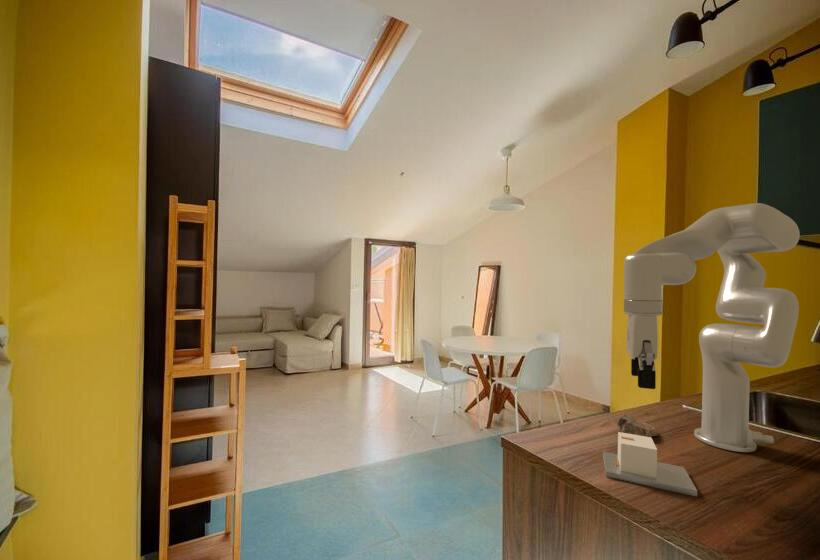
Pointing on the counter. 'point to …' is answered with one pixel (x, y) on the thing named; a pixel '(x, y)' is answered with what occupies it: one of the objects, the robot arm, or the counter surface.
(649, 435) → the rock
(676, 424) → the counter surface
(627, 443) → the orange-striped white cube
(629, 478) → the plate
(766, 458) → the counter surface
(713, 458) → the counter surface
